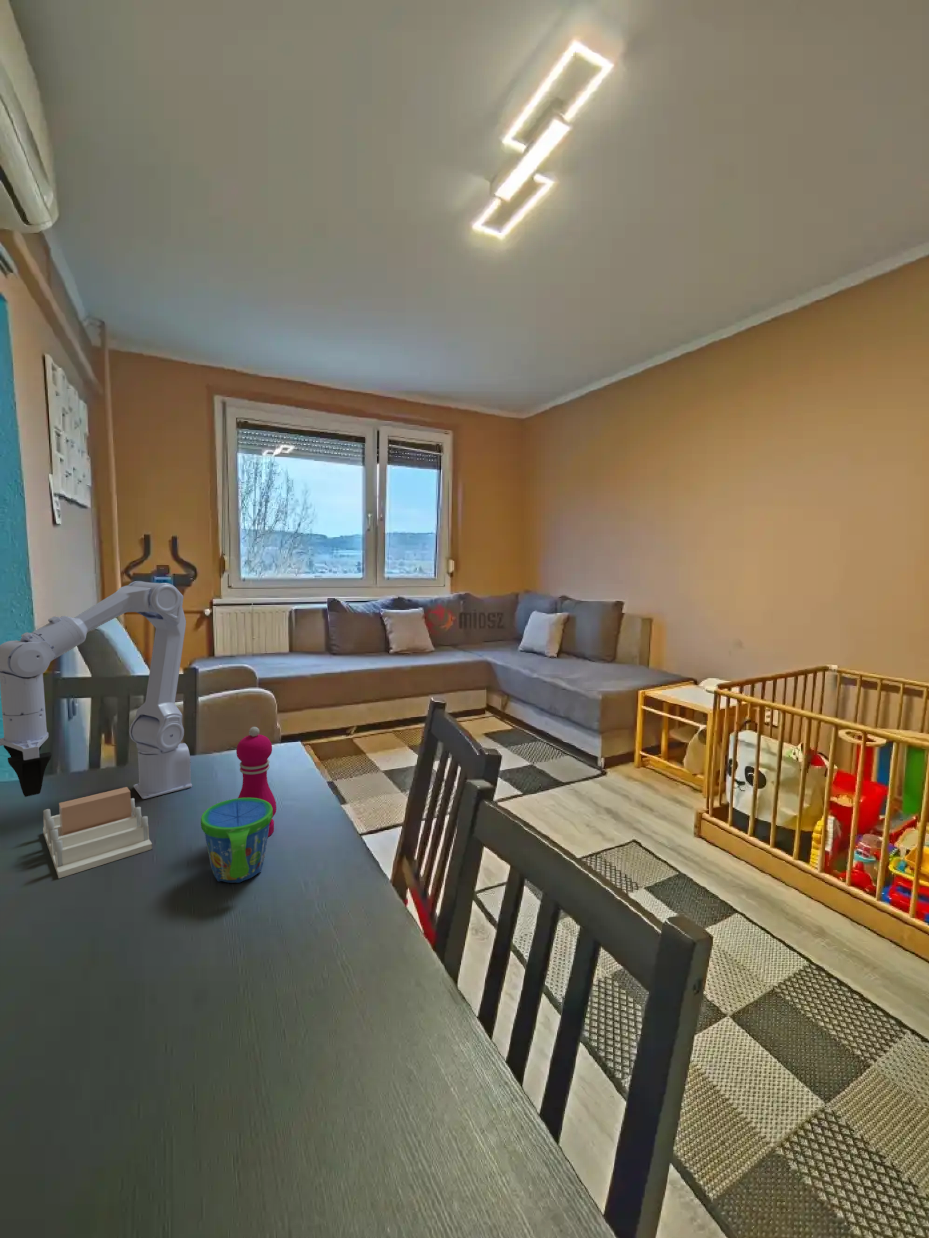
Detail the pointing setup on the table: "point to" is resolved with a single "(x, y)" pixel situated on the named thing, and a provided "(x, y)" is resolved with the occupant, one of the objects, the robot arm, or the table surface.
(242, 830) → the snack cup
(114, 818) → the tile
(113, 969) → the table surface
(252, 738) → the pepper mill
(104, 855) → the dish rack
